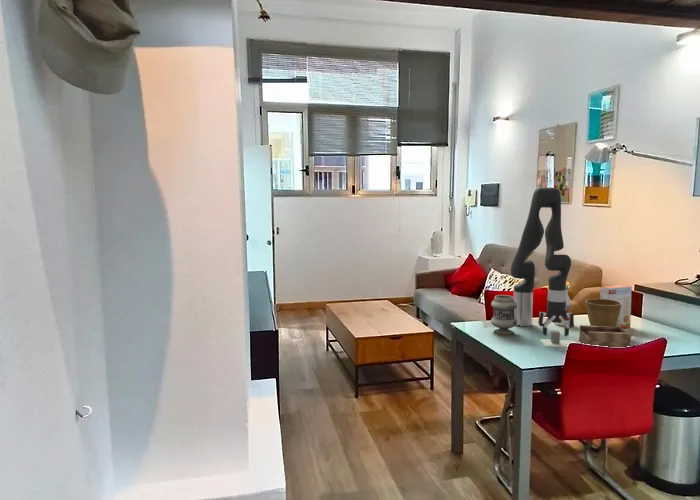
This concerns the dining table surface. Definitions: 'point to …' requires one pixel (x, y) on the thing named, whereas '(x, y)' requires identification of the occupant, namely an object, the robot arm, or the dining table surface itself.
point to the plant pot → (603, 312)
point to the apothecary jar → (504, 314)
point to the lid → (555, 340)
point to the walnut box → (604, 336)
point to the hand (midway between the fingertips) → (555, 335)
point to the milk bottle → (568, 308)
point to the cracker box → (621, 295)
